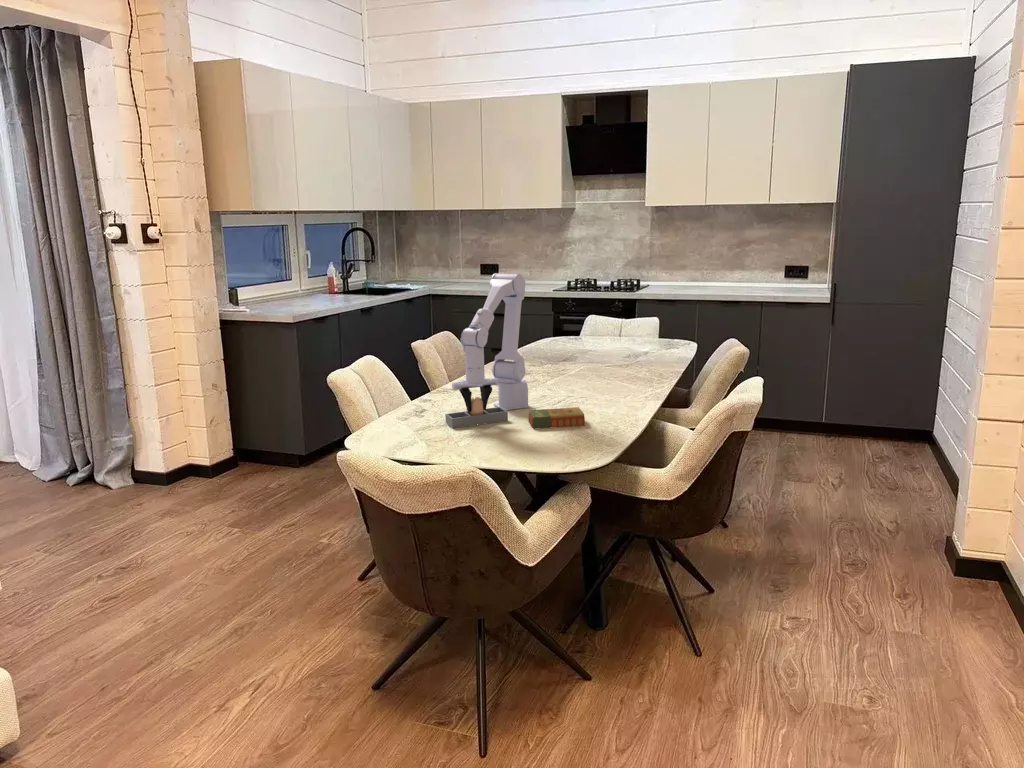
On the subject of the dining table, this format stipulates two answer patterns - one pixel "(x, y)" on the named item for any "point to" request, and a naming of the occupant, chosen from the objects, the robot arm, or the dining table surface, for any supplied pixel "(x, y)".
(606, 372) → the dining table surface
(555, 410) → the carton
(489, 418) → the egg holder
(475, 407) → the egg
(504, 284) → the robot arm
